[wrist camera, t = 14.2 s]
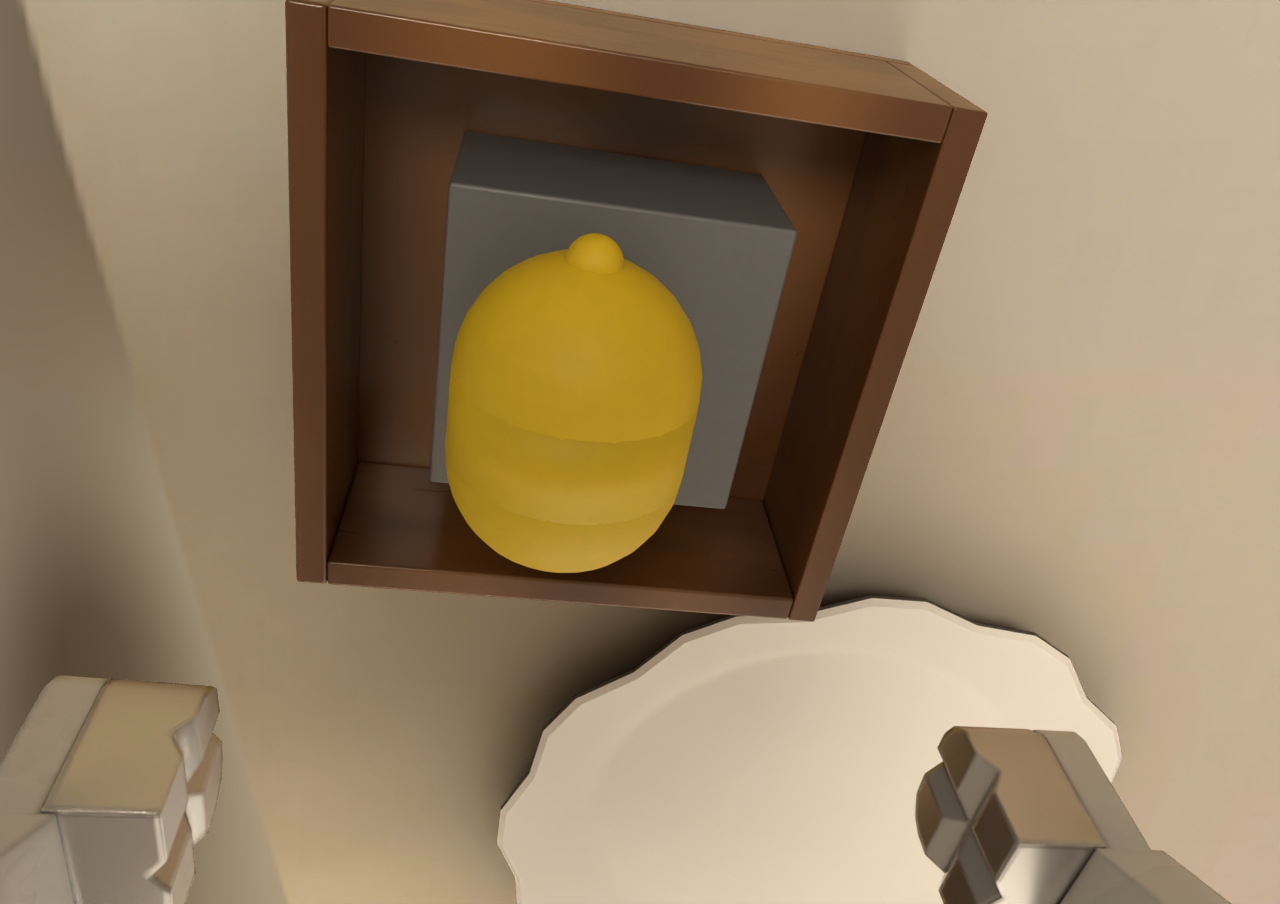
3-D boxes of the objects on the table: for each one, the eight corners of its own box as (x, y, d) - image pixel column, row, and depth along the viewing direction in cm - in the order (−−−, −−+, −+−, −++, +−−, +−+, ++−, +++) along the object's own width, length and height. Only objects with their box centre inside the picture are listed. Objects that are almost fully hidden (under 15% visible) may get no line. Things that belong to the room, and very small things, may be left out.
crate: (334, 469, 31) (295, 582, 26) (337, -36, 24) (283, -3, 19) (777, 510, 33) (814, 622, 29) (909, 61, 26) (989, 112, 21)
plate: (896, 1002, 51) (908, 1040, 49) (426, 919, 44) (421, 960, 42) (1222, 669, 39) (1251, 705, 38) (653, 486, 32) (657, 520, 31)
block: (444, 399, 29) (429, 483, 26) (464, 129, 25) (449, 181, 22) (704, 427, 31) (726, 510, 27) (763, 174, 27) (798, 230, 23)
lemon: (679, 535, 26) (624, 670, 21) (488, 478, 27) (396, 597, 22) (750, 229, 22) (701, 317, 17) (520, 172, 22) (413, 241, 18)
